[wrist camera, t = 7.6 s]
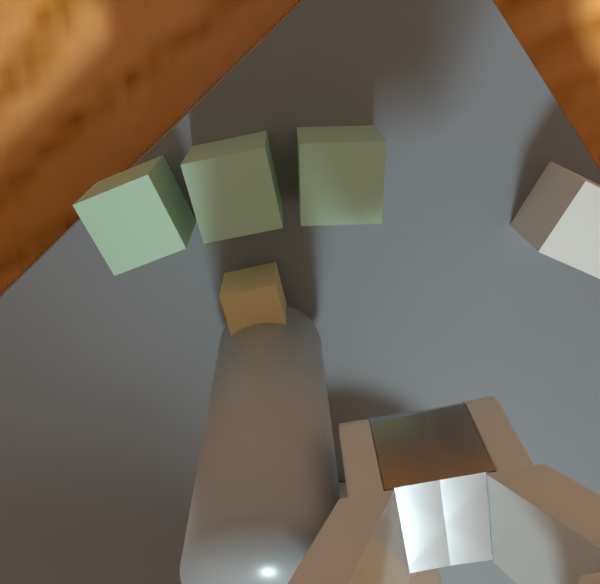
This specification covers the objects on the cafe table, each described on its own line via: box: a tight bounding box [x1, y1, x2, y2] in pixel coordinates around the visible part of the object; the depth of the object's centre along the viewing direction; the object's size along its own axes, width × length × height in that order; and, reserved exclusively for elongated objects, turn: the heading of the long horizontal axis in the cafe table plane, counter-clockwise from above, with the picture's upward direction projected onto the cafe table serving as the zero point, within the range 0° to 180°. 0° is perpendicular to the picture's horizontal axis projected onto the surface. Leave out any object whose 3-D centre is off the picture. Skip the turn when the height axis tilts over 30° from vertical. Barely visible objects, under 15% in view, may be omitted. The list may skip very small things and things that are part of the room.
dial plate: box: [0, 0, 600, 584], centre depth 18 cm, size 25×24×5 cm
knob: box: [180, 262, 443, 584], centre depth 13 cm, size 13×6×6 cm, turn 12°
